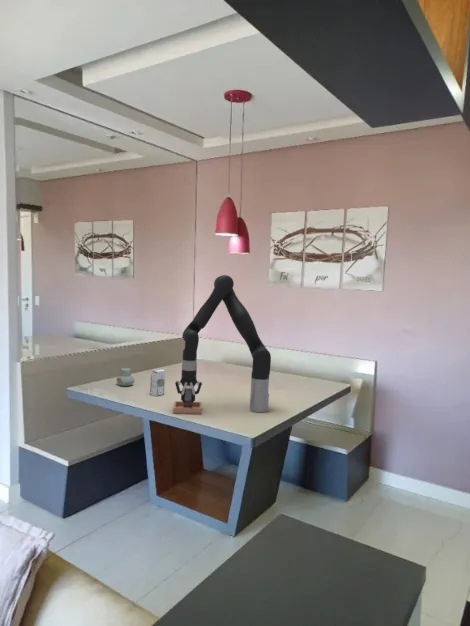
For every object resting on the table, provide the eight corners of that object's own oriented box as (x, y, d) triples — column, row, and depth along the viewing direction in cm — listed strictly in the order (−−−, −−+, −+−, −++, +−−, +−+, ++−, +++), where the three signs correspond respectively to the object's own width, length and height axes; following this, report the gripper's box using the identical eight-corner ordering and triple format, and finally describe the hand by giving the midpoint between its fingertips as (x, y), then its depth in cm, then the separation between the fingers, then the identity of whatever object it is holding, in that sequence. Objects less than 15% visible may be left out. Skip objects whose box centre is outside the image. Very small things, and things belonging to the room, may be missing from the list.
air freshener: (114, 384, 285) (115, 368, 284) (127, 382, 291) (127, 366, 290) (123, 388, 277) (123, 371, 276) (135, 386, 283) (136, 370, 282)
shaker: (192, 406, 241) (193, 383, 240) (192, 409, 236) (193, 386, 235) (183, 406, 240) (184, 383, 239) (183, 409, 236) (183, 385, 235)
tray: (201, 407, 245) (201, 401, 245) (201, 414, 233) (201, 408, 233) (174, 406, 244) (174, 401, 243) (173, 413, 232) (173, 407, 232)
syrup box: (157, 392, 270) (158, 368, 269) (164, 394, 266) (165, 369, 265) (149, 394, 265) (150, 369, 264) (156, 396, 262) (157, 371, 260)
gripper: (203, 367, 241) (202, 400, 242) (175, 366, 240) (174, 399, 241) (203, 370, 233) (202, 404, 235) (174, 369, 232) (173, 403, 234)
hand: (187, 401), depth 238 cm, fingers closed on shaker, 4 cm apart
